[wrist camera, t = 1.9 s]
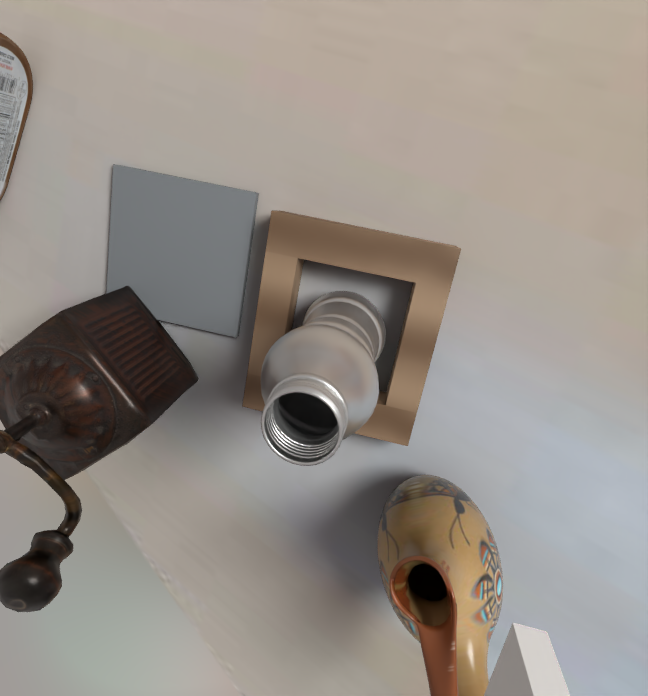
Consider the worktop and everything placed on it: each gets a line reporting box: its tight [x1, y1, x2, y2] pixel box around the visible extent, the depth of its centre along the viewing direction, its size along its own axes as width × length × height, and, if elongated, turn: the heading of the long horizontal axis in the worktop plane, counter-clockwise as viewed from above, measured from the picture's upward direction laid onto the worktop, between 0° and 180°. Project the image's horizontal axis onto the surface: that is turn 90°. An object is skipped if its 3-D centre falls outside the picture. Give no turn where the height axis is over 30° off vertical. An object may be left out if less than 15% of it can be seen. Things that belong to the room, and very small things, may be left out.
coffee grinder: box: [0, 286, 198, 612], centre depth 35 cm, size 16×11×18 cm
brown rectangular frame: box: [242, 211, 461, 446], centre depth 38 cm, size 16×14×3 cm
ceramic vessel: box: [377, 475, 503, 696], centre depth 31 cm, size 16×9×25 cm, turn 20°
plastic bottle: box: [261, 291, 386, 466], centre depth 30 cm, size 6×7×20 cm
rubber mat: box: [106, 164, 259, 338], centre depth 40 cm, size 12×12×1 cm
